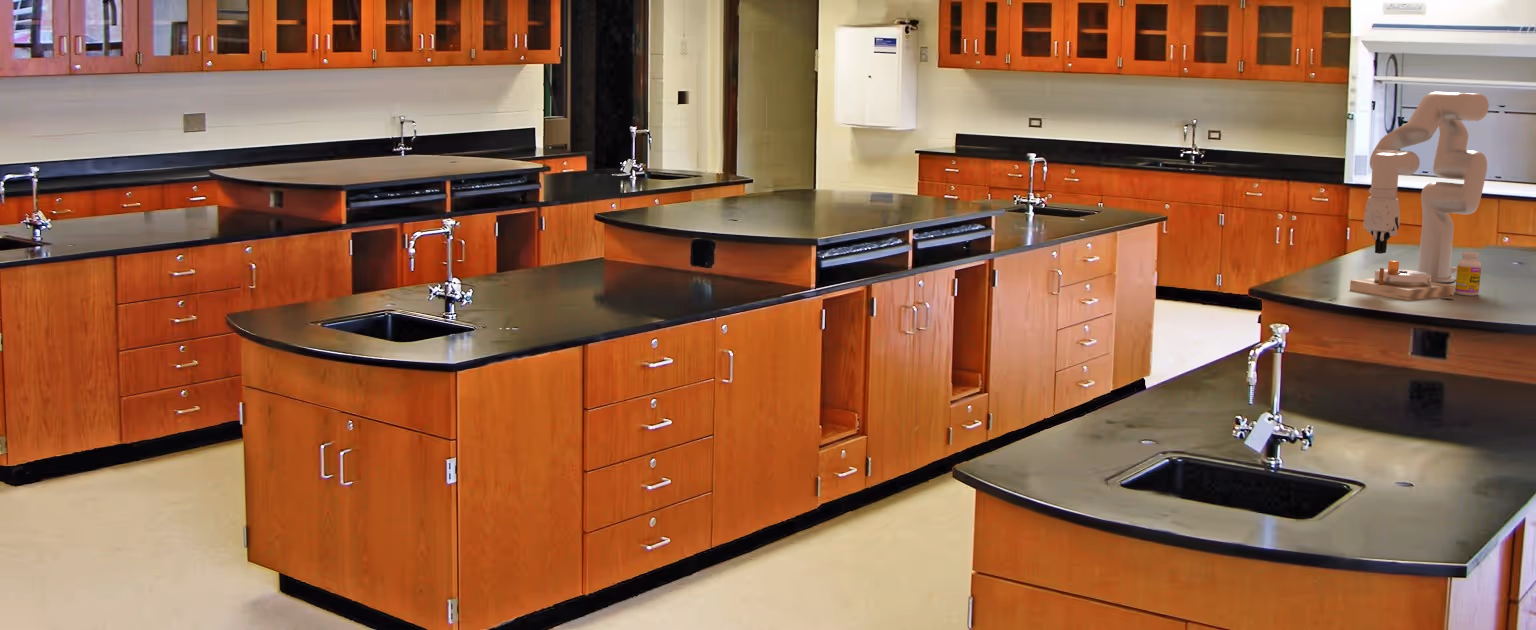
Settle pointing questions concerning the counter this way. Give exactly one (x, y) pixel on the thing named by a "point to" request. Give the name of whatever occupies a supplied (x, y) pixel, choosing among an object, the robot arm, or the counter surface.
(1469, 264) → the supplement bottle
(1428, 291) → the dial base
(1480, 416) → the counter surface
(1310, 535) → the counter surface
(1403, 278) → the dial
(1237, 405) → the counter surface
